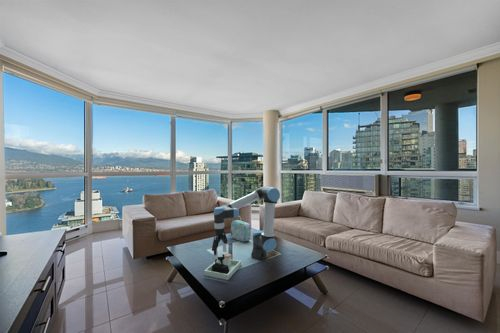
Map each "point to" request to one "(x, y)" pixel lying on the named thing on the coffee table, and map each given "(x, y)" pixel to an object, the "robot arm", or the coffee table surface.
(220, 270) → the sculpture
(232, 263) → the tote
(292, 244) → the coffee table surface
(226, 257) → the jar
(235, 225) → the lunch box
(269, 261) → the coffee table surface
